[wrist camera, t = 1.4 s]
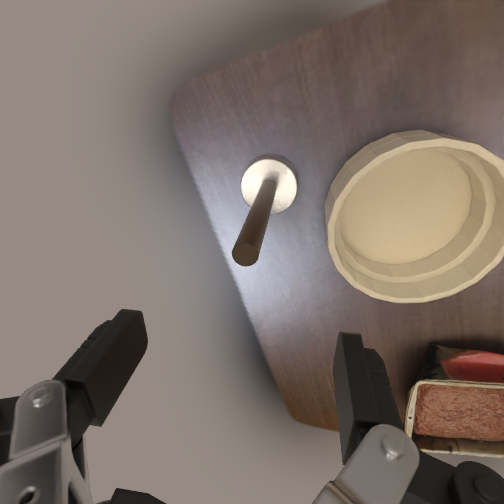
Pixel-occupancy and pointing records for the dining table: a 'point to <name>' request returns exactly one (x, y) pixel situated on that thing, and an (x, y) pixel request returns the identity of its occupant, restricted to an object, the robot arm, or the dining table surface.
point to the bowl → (416, 216)
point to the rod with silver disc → (263, 202)
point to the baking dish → (458, 403)
